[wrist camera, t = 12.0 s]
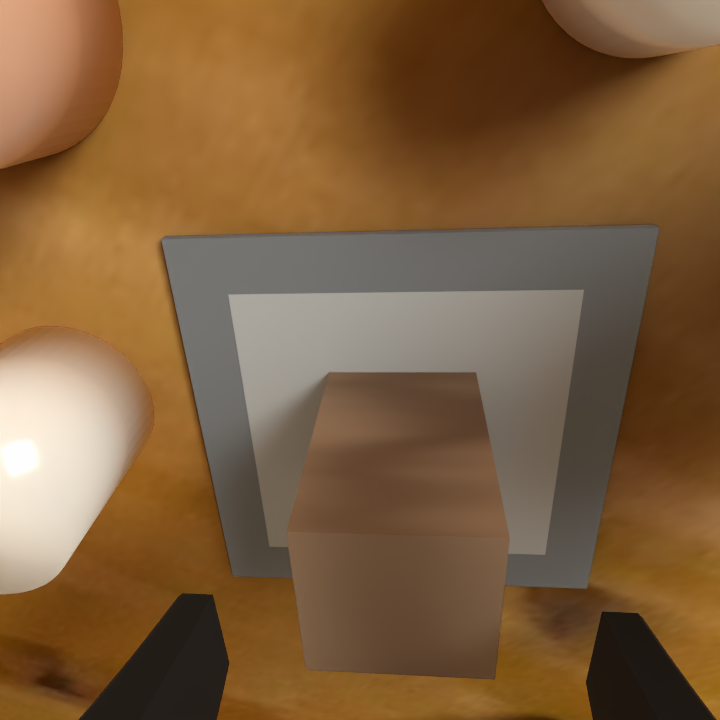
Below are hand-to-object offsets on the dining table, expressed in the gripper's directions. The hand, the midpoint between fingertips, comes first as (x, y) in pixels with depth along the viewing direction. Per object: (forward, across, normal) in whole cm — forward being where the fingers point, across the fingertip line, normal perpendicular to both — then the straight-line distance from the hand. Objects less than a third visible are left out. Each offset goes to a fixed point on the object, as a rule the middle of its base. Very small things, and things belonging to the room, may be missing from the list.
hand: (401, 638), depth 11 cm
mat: (+7, 0, 0) cm, 7 cm away
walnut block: (+6, 0, 0) cm, 7 cm away
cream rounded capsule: (+7, +10, -1) cm, 12 cm away
